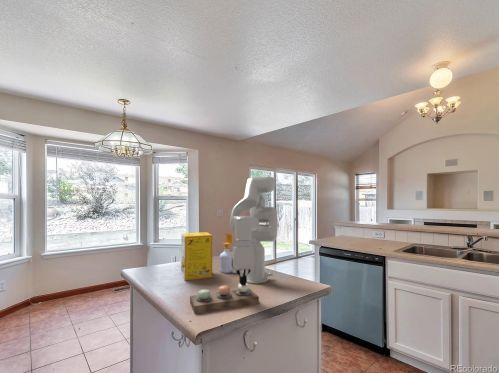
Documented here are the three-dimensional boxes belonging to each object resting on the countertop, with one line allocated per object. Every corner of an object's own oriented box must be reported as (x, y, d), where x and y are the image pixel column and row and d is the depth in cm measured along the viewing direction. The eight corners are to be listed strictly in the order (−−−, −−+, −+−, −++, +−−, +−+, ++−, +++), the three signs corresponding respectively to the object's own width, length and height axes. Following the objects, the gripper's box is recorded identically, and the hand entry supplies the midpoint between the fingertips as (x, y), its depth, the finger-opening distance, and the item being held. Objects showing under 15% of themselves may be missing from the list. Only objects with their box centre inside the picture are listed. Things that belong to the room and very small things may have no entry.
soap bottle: (216, 271, 166) (216, 233, 167) (225, 268, 173) (225, 231, 175) (227, 273, 161) (227, 234, 162) (236, 270, 168) (236, 232, 170)
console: (248, 294, 125) (248, 286, 125) (258, 303, 113) (258, 295, 114) (190, 302, 114) (190, 294, 115) (194, 313, 103) (194, 304, 103)
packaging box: (180, 273, 163) (181, 233, 164) (206, 270, 169) (206, 232, 170) (184, 280, 148) (184, 236, 149) (212, 277, 153) (212, 235, 155)
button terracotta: (227, 290, 117) (227, 285, 117) (231, 293, 113) (231, 288, 113) (217, 291, 116) (217, 286, 116) (220, 295, 111) (220, 289, 111)
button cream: (246, 287, 121) (246, 282, 121) (250, 291, 116) (250, 285, 116) (236, 289, 119) (236, 283, 119) (240, 292, 114) (240, 287, 115)
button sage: (208, 294, 114) (208, 288, 114) (210, 298, 110) (210, 292, 110) (197, 295, 112) (197, 290, 112) (199, 299, 108) (199, 293, 108)
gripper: (255, 242, 125) (255, 280, 123) (225, 243, 119) (224, 284, 118) (261, 244, 118) (261, 285, 116) (229, 245, 112) (229, 289, 111)
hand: (243, 284), depth 117 cm, fingers closed
